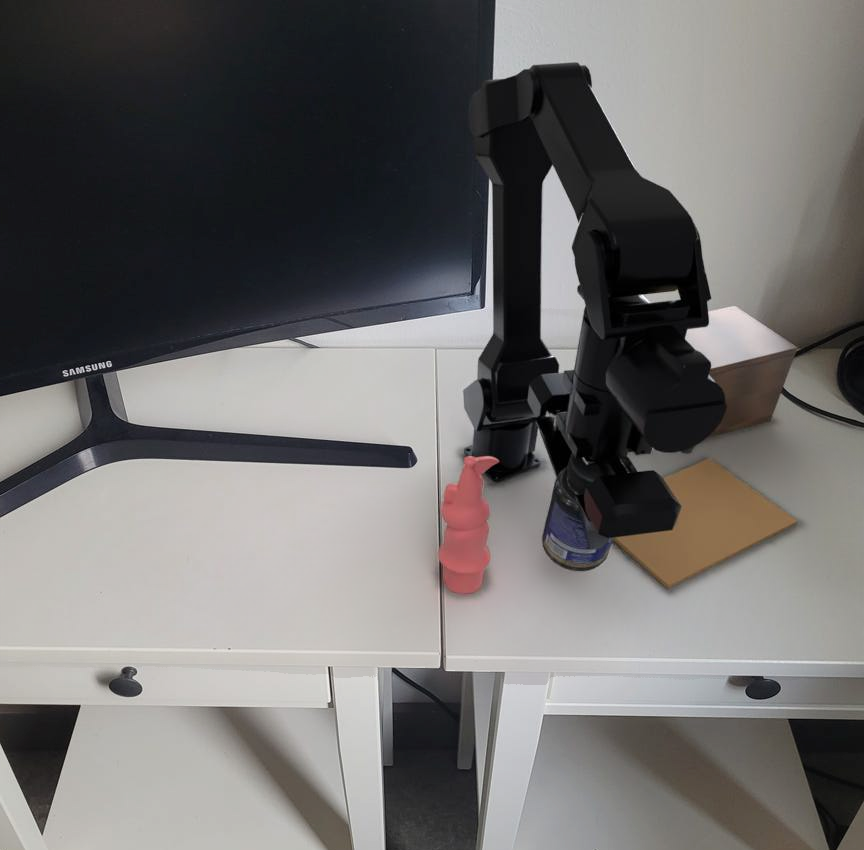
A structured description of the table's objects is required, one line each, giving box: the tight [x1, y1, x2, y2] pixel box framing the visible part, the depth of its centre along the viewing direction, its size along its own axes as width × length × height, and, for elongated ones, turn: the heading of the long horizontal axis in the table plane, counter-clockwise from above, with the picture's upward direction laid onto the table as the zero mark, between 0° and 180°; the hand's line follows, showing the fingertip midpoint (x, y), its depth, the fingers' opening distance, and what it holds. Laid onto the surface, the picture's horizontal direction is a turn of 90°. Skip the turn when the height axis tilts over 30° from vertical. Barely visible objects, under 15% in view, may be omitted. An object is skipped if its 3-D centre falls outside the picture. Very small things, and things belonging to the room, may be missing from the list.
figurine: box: [437, 456, 499, 595], centre depth 74 cm, size 5×5×15 cm
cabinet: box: [685, 305, 798, 438], centre depth 97 cm, size 13×11×10 cm
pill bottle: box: [541, 453, 614, 572], centre depth 71 cm, size 6×6×11 cm
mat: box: [612, 458, 798, 590], centre depth 85 cm, size 18×12×1 cm, turn 120°
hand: (581, 521), depth 72 cm, fingers closed on pill bottle, 6 cm apart
